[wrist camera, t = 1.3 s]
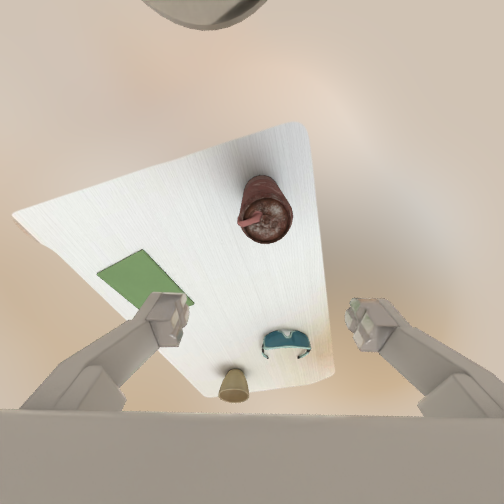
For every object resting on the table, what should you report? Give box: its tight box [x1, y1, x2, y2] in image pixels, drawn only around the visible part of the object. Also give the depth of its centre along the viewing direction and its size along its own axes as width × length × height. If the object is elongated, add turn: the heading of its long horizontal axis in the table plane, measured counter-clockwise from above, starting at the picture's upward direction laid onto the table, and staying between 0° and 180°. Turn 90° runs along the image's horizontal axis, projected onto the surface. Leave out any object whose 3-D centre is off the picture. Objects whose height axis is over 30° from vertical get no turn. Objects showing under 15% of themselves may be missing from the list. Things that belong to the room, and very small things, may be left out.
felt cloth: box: [96, 250, 194, 309], centre depth 43 cm, size 18×14×1 cm
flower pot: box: [218, 369, 249, 403], centre depth 60 cm, size 10×10×7 cm
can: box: [237, 175, 293, 244], centre depth 25 cm, size 6×6×14 cm
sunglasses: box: [262, 330, 311, 359], centre depth 53 cm, size 14×15×5 cm
